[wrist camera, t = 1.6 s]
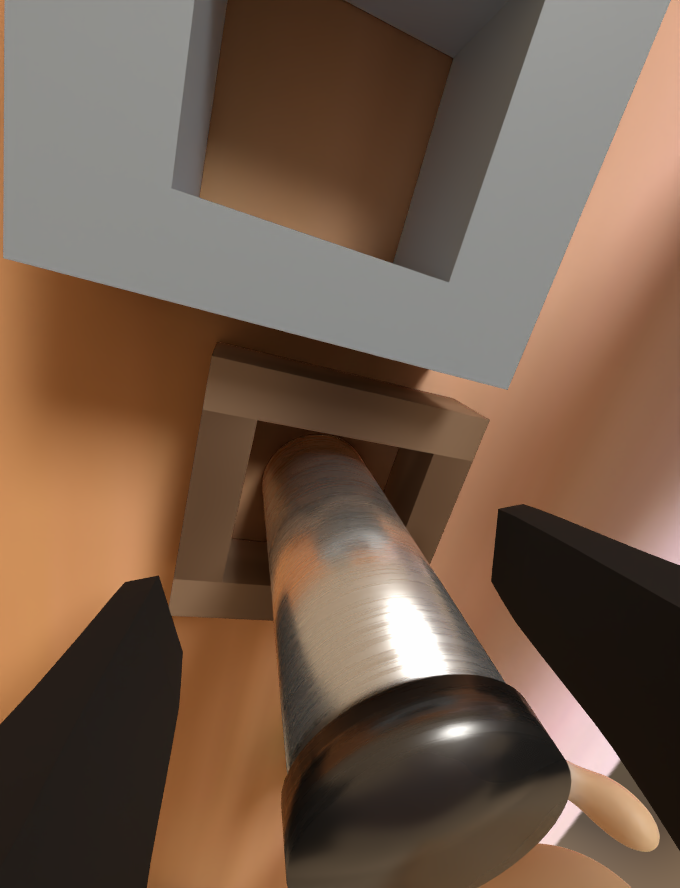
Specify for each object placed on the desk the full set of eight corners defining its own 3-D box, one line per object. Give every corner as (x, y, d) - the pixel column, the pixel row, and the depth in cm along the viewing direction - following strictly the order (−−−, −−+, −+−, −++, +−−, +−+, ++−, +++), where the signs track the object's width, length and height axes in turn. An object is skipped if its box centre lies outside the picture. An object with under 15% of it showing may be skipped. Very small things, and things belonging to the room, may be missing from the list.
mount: (453, 399, 12) (489, 419, 11) (384, 582, 15) (404, 626, 13) (217, 341, 10) (211, 356, 8) (178, 566, 12) (167, 615, 11)
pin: (382, 442, 12) (621, 730, 5) (351, 535, 13) (501, 898, 6) (272, 420, 11) (335, 744, 4) (248, 523, 12) (257, 945, 5)
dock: (557, 15, 9) (721, -122, 6) (436, 359, 12) (507, 389, 9) (121, -257, 7) (7, -757, 3) (87, 264, 9) (3, 258, 6)
